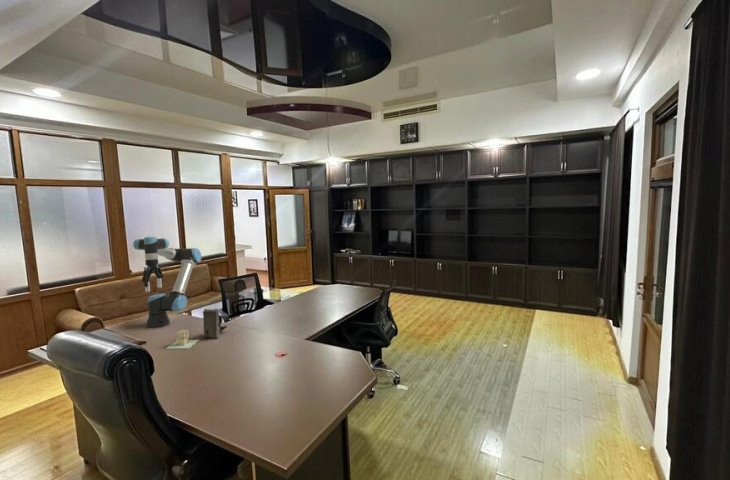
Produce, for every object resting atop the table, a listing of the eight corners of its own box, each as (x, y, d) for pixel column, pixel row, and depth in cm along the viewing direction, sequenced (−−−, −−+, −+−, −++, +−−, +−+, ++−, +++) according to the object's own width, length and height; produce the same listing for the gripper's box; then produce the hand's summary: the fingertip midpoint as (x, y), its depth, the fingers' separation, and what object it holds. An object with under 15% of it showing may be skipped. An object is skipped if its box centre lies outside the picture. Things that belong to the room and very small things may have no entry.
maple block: (181, 342, 220) (180, 330, 220) (188, 342, 220) (188, 330, 220) (176, 345, 215) (176, 333, 215) (184, 345, 215) (184, 332, 215)
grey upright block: (229, 331, 242) (227, 304, 241) (217, 339, 226) (215, 309, 226) (216, 332, 243) (214, 304, 242) (203, 339, 227) (202, 309, 227)
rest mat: (177, 340, 225) (177, 340, 225) (199, 340, 225) (199, 339, 225) (165, 349, 211) (165, 348, 211) (188, 348, 211) (188, 347, 211)
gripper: (157, 257, 248) (159, 285, 250) (134, 261, 224) (136, 293, 225) (167, 256, 248) (169, 285, 250) (145, 261, 224) (147, 293, 225)
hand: (153, 289), depth 237 cm, fingers open, 13 cm apart
